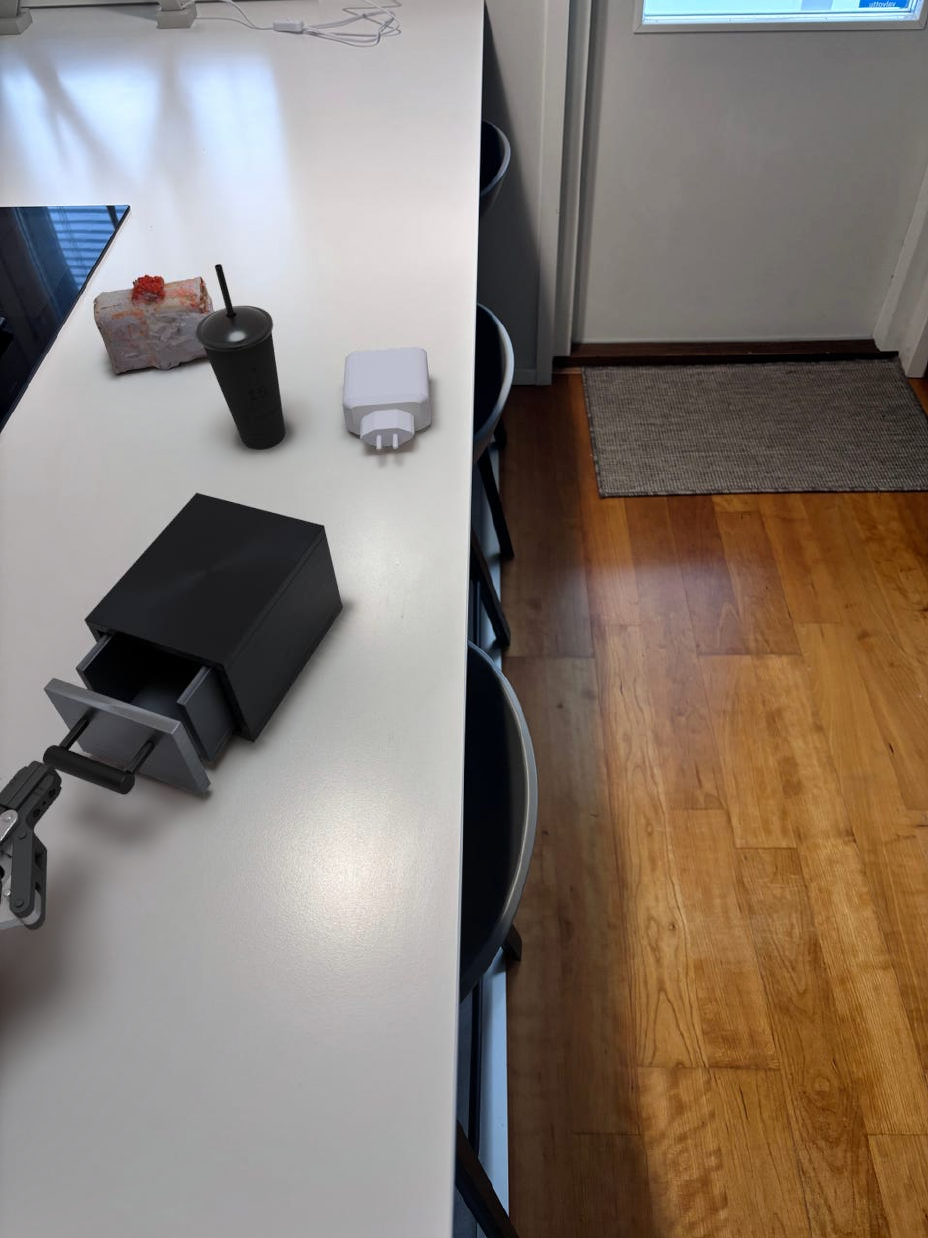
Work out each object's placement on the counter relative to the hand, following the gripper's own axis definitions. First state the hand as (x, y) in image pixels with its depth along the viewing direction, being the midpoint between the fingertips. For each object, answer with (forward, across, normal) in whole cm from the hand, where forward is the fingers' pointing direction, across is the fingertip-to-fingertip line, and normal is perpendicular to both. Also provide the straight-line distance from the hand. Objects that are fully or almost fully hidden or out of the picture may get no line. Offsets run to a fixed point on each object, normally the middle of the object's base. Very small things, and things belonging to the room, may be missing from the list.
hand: (48, 770), depth 65 cm
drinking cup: (+48, +14, +10) cm, 51 cm away
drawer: (+11, 0, +9) cm, 14 cm away
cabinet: (+20, 0, +10) cm, 22 cm away
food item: (+58, +34, +10) cm, 68 cm away
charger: (+54, +2, +10) cm, 55 cm away
